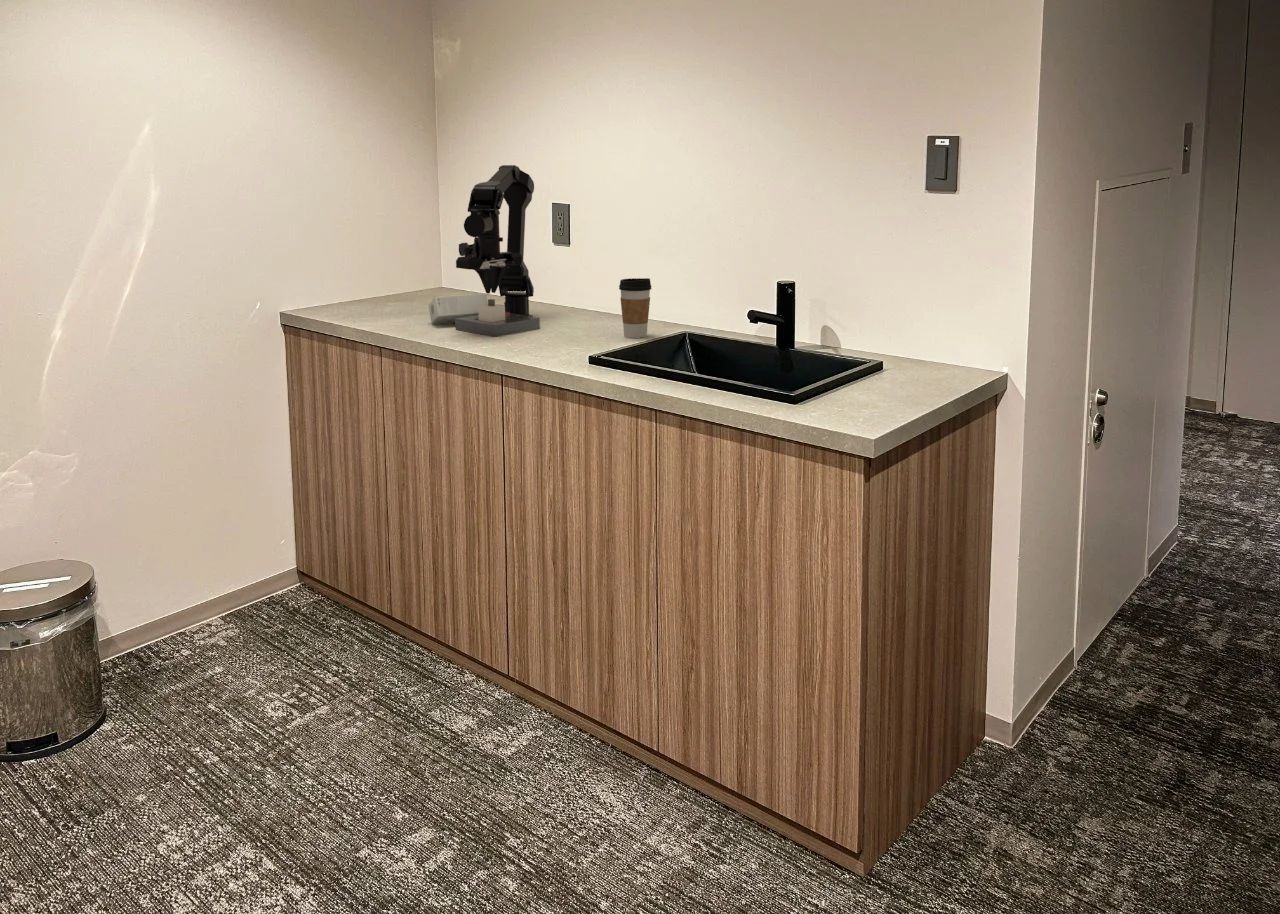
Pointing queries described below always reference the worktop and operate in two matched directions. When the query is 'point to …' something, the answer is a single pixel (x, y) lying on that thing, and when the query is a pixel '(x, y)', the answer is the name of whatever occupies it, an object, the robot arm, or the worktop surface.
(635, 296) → the coffee cup
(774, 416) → the worktop surface
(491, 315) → the plug
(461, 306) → the skincare box
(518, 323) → the socket plate
